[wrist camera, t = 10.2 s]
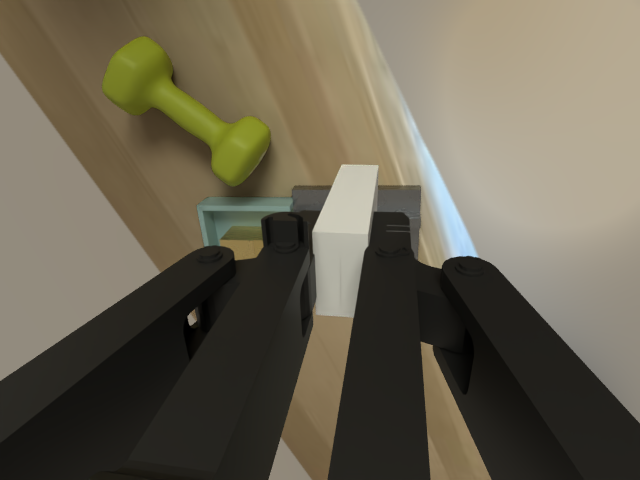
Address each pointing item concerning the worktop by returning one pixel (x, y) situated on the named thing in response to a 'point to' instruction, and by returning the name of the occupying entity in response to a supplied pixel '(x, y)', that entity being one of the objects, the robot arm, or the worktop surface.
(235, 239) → the wooden block
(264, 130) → the dumbbell
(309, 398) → the worktop surface
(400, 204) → the slot board
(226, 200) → the tray
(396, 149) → the worktop surface
